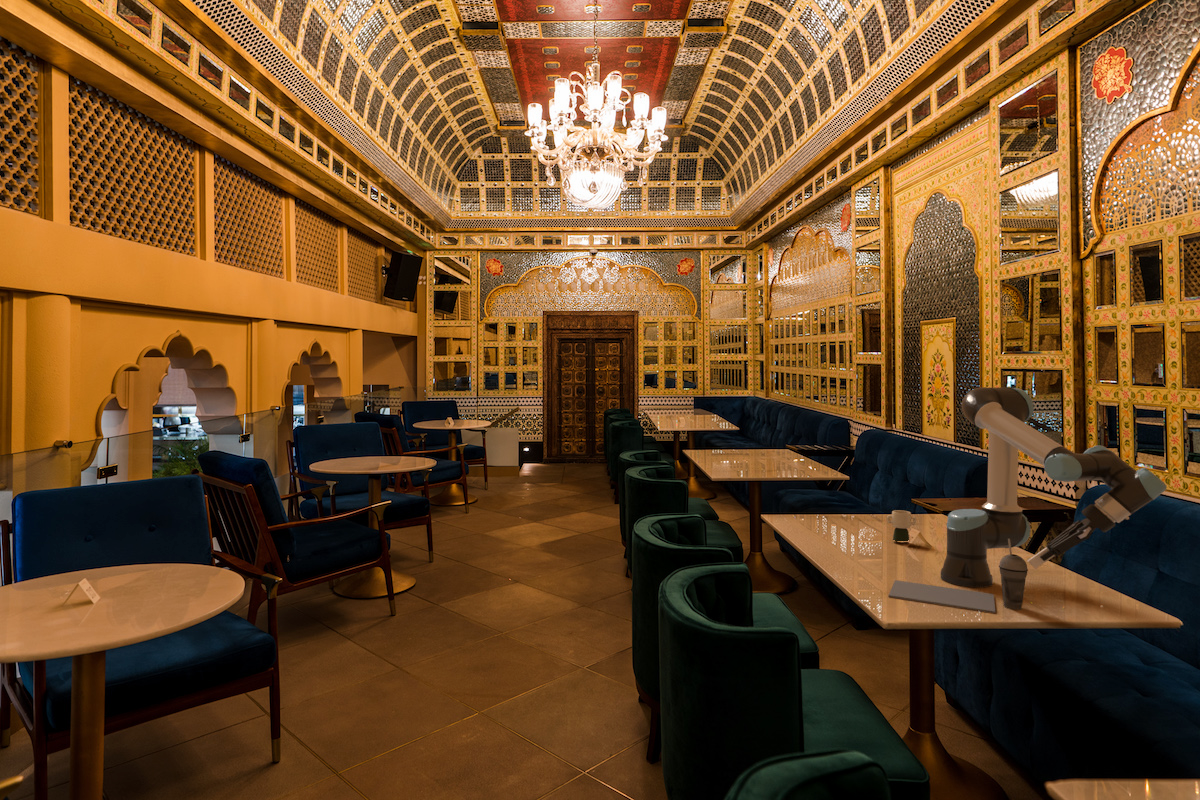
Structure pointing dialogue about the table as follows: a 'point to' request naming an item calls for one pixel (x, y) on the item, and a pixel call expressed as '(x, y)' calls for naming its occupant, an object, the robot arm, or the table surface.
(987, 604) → the rubber mat
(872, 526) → the table surface
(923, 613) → the table surface
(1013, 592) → the beverage cup
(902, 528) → the character mug
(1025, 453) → the robot arm
